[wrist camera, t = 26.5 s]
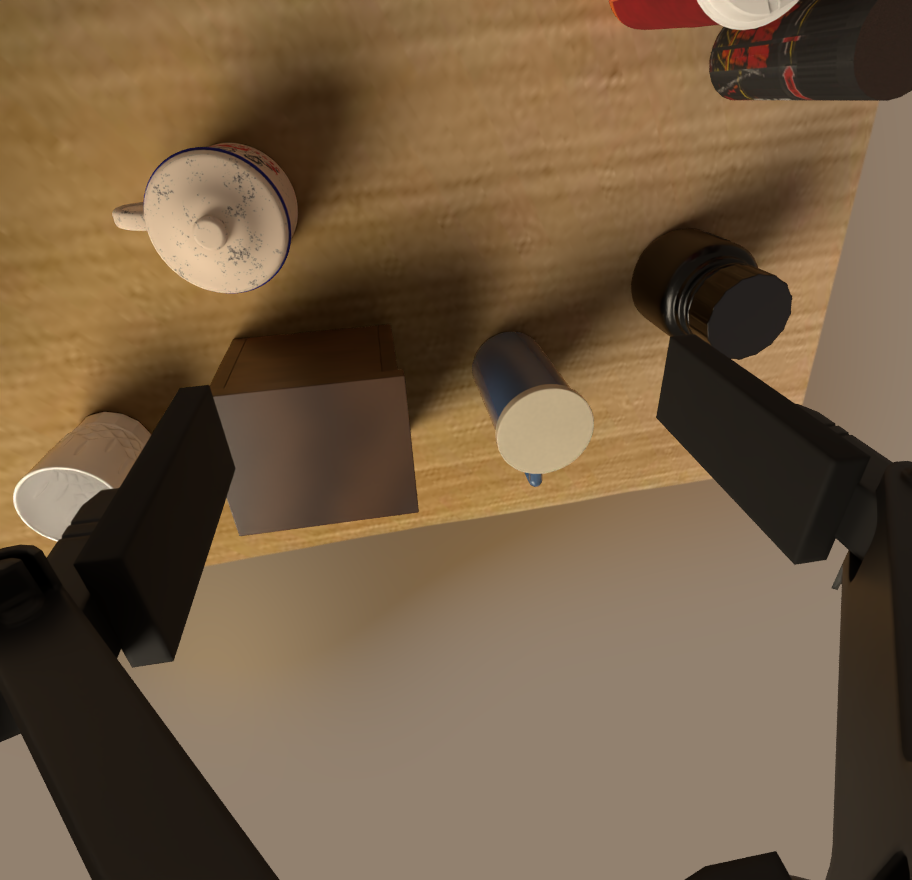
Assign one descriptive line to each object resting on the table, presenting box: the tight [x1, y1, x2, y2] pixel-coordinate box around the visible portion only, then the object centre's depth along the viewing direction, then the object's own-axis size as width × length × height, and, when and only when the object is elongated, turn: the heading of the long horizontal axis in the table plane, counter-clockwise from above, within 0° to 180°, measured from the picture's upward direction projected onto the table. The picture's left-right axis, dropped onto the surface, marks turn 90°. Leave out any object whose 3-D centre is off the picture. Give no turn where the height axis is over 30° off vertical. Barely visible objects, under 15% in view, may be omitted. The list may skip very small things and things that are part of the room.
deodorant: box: [709, 0, 912, 100], centre depth 37 cm, size 6×6×15 cm
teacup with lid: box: [113, 143, 298, 293], centre depth 38 cm, size 12×9×12 cm
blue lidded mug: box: [472, 332, 594, 487], centre depth 50 cm, size 8×11×13 cm
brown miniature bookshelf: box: [210, 324, 419, 536], centre depth 48 cm, size 15×13×12 cm
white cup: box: [13, 412, 151, 541], centre depth 48 cm, size 8×8×10 cm
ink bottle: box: [631, 228, 792, 360], centre depth 47 cm, size 10×9×12 cm
